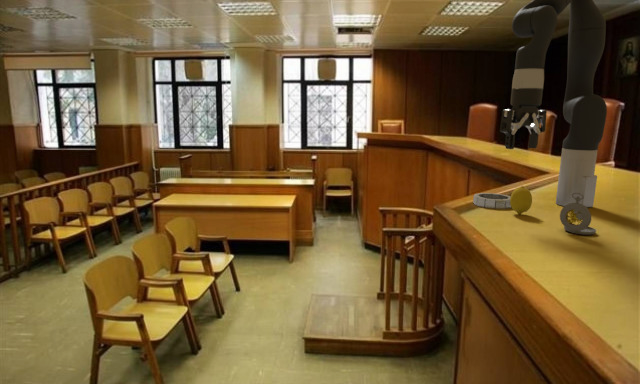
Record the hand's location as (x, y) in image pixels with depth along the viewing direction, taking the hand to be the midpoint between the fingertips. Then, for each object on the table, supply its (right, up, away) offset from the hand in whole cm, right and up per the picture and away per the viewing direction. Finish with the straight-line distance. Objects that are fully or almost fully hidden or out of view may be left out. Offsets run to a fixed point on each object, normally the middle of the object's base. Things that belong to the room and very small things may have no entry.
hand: (521, 148), depth 119 cm
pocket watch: (+7, -22, -15) cm, 27 cm away
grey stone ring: (-2, -16, +15) cm, 22 cm away
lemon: (+1, -18, +3) cm, 18 cm away
